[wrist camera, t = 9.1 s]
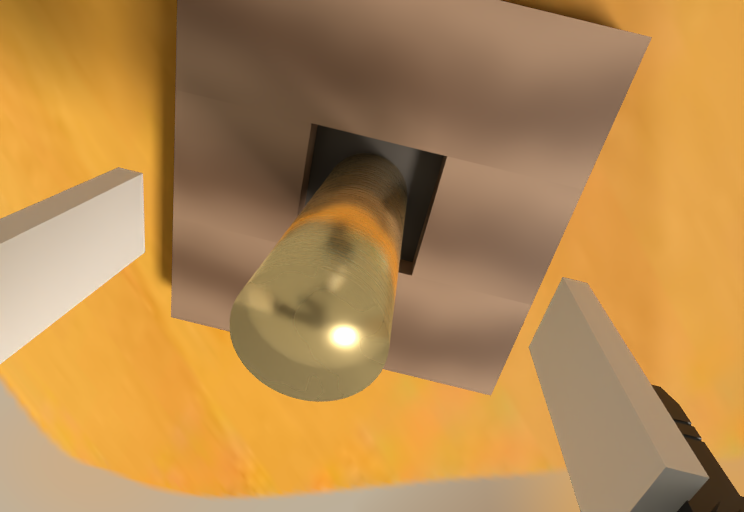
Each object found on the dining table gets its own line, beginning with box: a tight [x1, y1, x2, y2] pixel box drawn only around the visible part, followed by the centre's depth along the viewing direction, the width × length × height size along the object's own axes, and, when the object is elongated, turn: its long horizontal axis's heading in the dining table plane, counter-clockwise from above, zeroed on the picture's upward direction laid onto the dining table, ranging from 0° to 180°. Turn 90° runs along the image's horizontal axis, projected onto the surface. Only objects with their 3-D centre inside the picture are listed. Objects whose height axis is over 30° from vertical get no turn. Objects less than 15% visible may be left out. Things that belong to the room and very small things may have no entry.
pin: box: [230, 153, 407, 401], centre depth 16 cm, size 4×4×12 cm
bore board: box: [171, 0, 652, 395], centre depth 21 cm, size 18×18×2 cm
